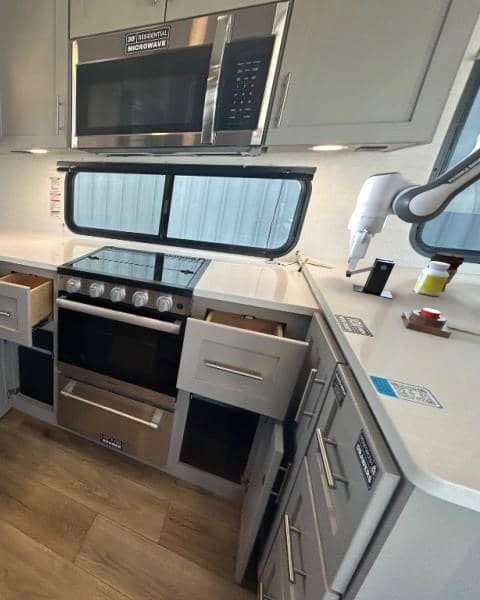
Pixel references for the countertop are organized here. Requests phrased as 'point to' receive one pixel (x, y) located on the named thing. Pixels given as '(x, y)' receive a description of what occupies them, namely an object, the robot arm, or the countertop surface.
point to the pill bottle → (432, 279)
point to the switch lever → (358, 271)
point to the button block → (426, 324)
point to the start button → (430, 313)
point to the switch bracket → (377, 279)
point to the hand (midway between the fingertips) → (350, 266)
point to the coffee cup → (449, 259)
